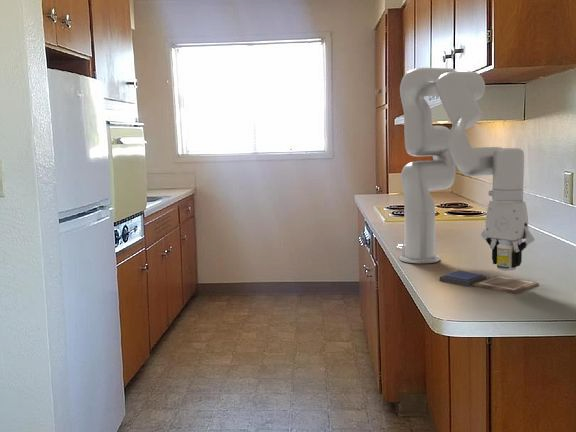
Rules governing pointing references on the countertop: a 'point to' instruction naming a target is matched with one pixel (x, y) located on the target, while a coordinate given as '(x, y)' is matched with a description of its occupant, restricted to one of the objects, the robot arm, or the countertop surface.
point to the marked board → (506, 284)
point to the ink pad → (462, 278)
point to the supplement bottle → (505, 255)
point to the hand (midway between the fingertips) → (506, 264)
